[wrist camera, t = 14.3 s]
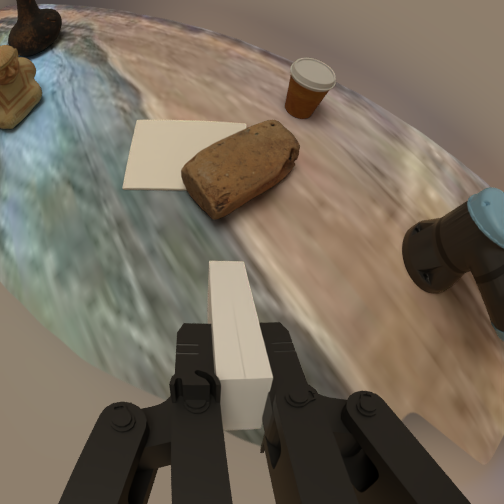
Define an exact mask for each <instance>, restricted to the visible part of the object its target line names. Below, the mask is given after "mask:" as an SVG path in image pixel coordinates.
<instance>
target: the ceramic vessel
mask: <svg viewBox="0 0 504 504" xmlns="http://www.w3.org/2000/svg"><path fill="white" fill-rule="evenodd" d="M35 74H36V68H35V66H34V64H33V63H32V62H31V61H30V60H29V59H27V58H24V57H18V51H17V49H16V48H15V49H14V48H13V47H12V46H9V45H3V46H0V128H2V129H8V128H9V129H13V128H14V127H15V126H16V125H17V124H18V123H20V122H21V121H22V120H23V119H24V118H25V117H26V116H27V115H28V113H29V112H30V111H31V110H32V109H33V108H34V106H35V105H37V104H38V103H39V101H40V99H41V97H42V90H41V87H40V86H39V84H38V83H37V82H36V81H35V79H34V77H35Z"/></svg>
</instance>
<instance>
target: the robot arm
mask: <svg viewBox="0 0 504 504" xmlns="http://www.w3.org/2000/svg"><path fill="white" fill-rule="evenodd" d="M403 258H404V263H405V266H406V268H407V271H408V273H409V275H410V276H411V278H412V279H413V281H414V282H415V283H416V284H417V285H418V286H419V287H420V288H421V289H423V290H425V291H427V292H430V293H439V292H442V291H444V290H447V289H449V288H450V287H451V286H453V285H454V284H455V283H456V282H457V281H458V280H459V279H460V278H461V277H462V276H463V275H464V274H465V273H467V272H469V271H471V272H472V275H473V277H474V279H475V281H476V284H477V286H478V288H479V291H480V293H481V296H482V298H483V301H484V304H485V306H486V309H487V312H488V314H489V317H490V320H491V324H492V326H493V327H494V328H495V331H496V333H497V335H498V337H499V338H500V339H501V340H502V341H504V192H502V191H501V190H499V189H497V188H486V189H484V190H482V191H481V192H479V193H477V194H474V195H472V196H471V197H470V198H469V199H468V201H466V202H465V203H463V204H461V205H460V206H458V207H457V208H455V209H454V210H452V211H451V212H449V213H448V214H446V215H445V216H443V217H442V218H437V219H430V220H424V221H421V222H418V223H417V224H415V225H414V226H412V227H411V228H410V229H409V230H408V231H407V233H406V235H405V237H404V240H403ZM207 312H208V324H191V323H184V324H183V325H182V327H181V328H180V329H179V331H178V332H177V346H176V363H175V374H174V375H173V376H172V378H171V381H170V384H169V386H170V393H171V396H170V397H169V398H168V399H167V400H166V401H165V402H163V403H161V404H159V405H156V406H152V407H148V408H143V409H140V408H139V407H138V406H136V405H134V404H132V403H128V402H117V403H113V404H111V405H109V406H107V407H106V408H105V409H104V410H103V411H102V413H101V414H100V416H99V418H98V420H97V422H96V424H95V426H94V428H93V430H92V432H91V434H90V436H89V438H88V440H87V442H86V444H85V446H84V449H83V451H82V453H81V455H80V457H79V459H78V461H77V463H76V465H75V468H74V470H73V472H72V474H71V476H70V479H69V481H68V483H67V485H66V488H65V490H64V492H63V494H62V497H61V499H60V501H59V503H58V504H147V503H148V499H149V496H150V493H151V490H152V486H153V483H154V480H155V477H156V473H157V470H158V468H160V467H164V466H168V465H171V486H172V504H232V497H231V490H230V482H229V474H228V467H227V458H226V450H225V442H224V433H223V430H245V429H260V428H261V426H262V422H263V425H264V430H265V434H264V438H263V441H262V445H261V452H260V453H264V450H265V453H266V458H267V463H268V468H269V473H270V477H271V482H272V487H273V492H274V496H275V501H276V504H471V503H470V502H469V501H468V499H467V498H466V497H465V496H464V495H463V494H462V492H461V491H460V490H459V489H458V488H457V486H456V485H455V484H454V483H453V482H452V480H451V479H450V478H449V477H448V476H447V475H446V474H445V472H444V471H443V470H442V469H441V467H440V466H439V465H438V464H437V463H436V462H435V460H434V459H433V458H432V457H431V456H430V455H429V453H428V452H427V451H426V450H425V449H424V447H423V446H422V445H421V444H420V443H419V441H418V440H417V439H416V438H415V437H414V436H413V434H412V433H411V432H410V431H409V430H408V428H407V427H406V426H405V425H404V424H403V423H402V421H401V420H400V419H399V418H398V417H397V416H396V414H395V413H394V412H393V411H392V410H391V408H390V407H389V406H388V405H387V404H386V403H385V401H384V400H383V399H382V398H381V397H379V396H378V395H377V394H374V393H372V392H369V391H359V392H355V393H353V394H352V395H350V396H349V398H348V400H343V399H336V398H329V397H325V396H322V395H320V394H318V393H317V391H316V390H315V389H314V388H313V387H311V386H310V385H308V383H307V382H306V379H305V376H304V373H303V371H302V368H301V365H300V362H299V359H298V357H297V354H296V352H295V348H294V345H293V343H292V340H291V337H290V334H289V331H288V330H287V329H286V328H285V327H284V326H283V325H282V324H281V323H280V322H275V323H259V321H258V317H257V313H256V309H255V305H254V301H253V297H252V293H251V289H250V285H249V281H248V277H247V273H246V269H245V265H244V262H237V261H209V279H208V310H207Z"/></svg>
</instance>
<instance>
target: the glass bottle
mask: <svg viewBox="0 0 504 504" xmlns="http://www.w3.org/2000/svg"><path fill="white" fill-rule="evenodd" d="M17 9H18V20H17V23H16V24H15V25H14V27H13V28H12V30H11V31H10V34H9V38H8V44H9V46H12V47H13V48H14V49H15V48H16V49H17V51H18V55H21V56H30V55H34V54H37V53H39V52H41V51H43V50H44V49H46V48H47V47H48V46H50V45H51V44H52V43H53V42H54V40H55V39H56V38H57V36H58V34H59V32H60V29H61V25H62V20H61V16H60V14H59V13H58V12H57V11H56V10H53V9H39V7H38V6H37V4H36V2H35V0H17Z"/></svg>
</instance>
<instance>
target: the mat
mask: <svg viewBox="0 0 504 504" xmlns="http://www.w3.org/2000/svg"><path fill="white" fill-rule="evenodd" d="M244 129H246V124H244V123H231V122H215V121H193V120H137V123H136V127H135V131H134V135H133V140H132V144H131V148H130V153H129V158H128V163H127V168H126V173H125V178H124V183H123V190H178V191H187V190H186V188H185V185H184V184H183V181H182V178H181V169H182V168H183V167H184V165H185V164H186V163H187V162H188V161H189V160H190V159H192V158H193V157H194V156H195V155H196V154H197V153H198V152H200V151H201V150H203V149H205V148H207V147H208V146H210V145H212V144H213V143H215V142H218V141H220V140H221V139H224V138H226V137H228V136H230V135H232V134H235V133H237V132H239V131H241V130H244Z"/></svg>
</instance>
